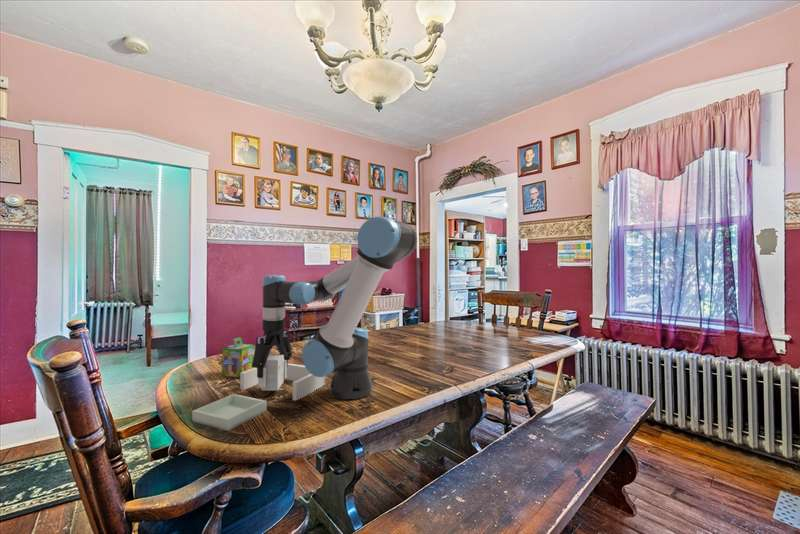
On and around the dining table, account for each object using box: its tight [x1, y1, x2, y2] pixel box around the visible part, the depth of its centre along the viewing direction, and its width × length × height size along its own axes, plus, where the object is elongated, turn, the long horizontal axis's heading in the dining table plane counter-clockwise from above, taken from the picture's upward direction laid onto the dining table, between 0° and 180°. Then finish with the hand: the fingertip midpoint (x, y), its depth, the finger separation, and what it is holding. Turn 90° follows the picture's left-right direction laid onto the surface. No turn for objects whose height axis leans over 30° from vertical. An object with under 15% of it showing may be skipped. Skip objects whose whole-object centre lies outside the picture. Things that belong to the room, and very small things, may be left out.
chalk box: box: [221, 337, 256, 379], centre depth 137 cm, size 9×9×15 cm
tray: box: [191, 393, 268, 432], centre depth 99 cm, size 14×14×3 cm
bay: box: [239, 362, 326, 402], centre depth 123 cm, size 25×16×6 cm, turn 68°
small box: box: [260, 353, 285, 391], centre depth 118 cm, size 8×6×10 cm
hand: (272, 381), depth 118 cm, fingers closed on small box, 9 cm apart
